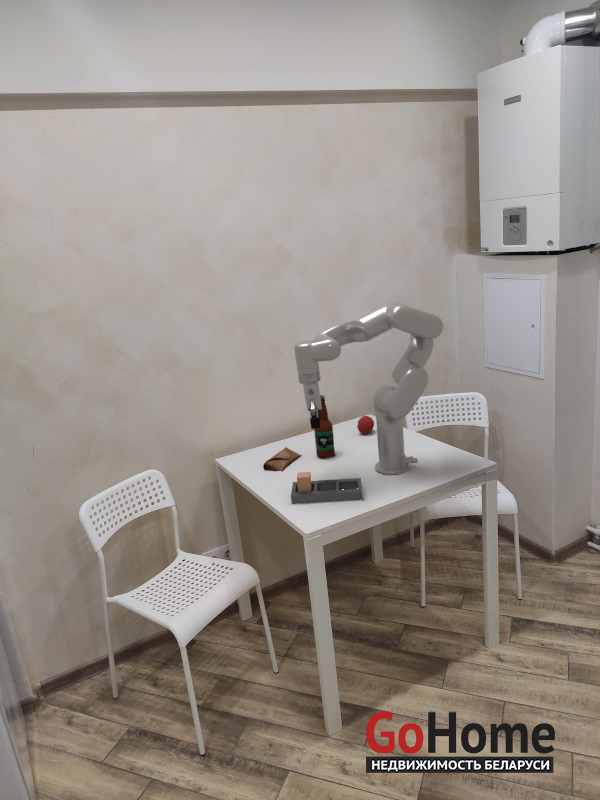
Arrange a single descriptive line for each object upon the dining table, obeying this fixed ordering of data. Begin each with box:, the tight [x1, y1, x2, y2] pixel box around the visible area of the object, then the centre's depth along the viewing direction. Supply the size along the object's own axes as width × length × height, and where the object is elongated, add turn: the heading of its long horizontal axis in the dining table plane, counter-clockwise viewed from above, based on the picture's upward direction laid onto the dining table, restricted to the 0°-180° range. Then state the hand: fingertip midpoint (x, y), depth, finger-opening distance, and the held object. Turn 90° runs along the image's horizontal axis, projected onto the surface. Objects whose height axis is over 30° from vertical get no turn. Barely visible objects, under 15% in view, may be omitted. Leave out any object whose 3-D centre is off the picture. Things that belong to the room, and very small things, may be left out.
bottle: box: [313, 394, 336, 460], centre depth 242 cm, size 7×7×25 cm
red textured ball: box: [357, 415, 375, 435], centre depth 265 cm, size 8×8×8 cm
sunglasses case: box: [262, 446, 303, 473], centre depth 242 cm, size 18×7×7 cm, turn 153°
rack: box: [290, 477, 364, 505], centre depth 210 cm, size 24×11×3 cm, turn 87°
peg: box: [296, 471, 312, 492], centre depth 210 cm, size 4×4×8 cm
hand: (315, 423), depth 215 cm, fingers open, 9 cm apart
